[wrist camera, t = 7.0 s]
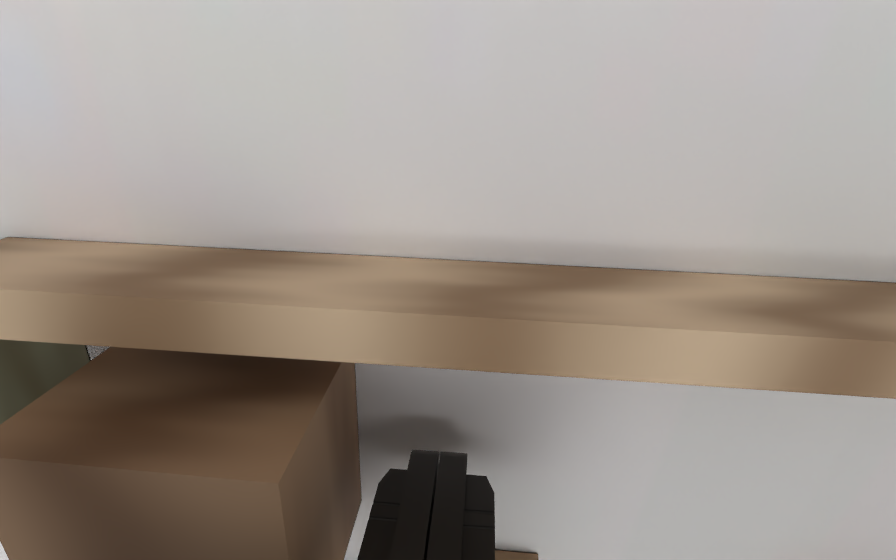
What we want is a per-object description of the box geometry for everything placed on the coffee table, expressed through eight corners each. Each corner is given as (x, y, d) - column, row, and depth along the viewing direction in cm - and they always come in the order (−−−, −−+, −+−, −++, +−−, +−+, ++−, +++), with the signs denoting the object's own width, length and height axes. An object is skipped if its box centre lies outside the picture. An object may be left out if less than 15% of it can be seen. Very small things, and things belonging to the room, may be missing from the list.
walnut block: (353, 339, 13) (278, 483, 8) (361, 500, 15) (306, 682, 11) (143, 324, 13) (-42, 454, 9) (183, 483, 16) (54, 652, 11)
